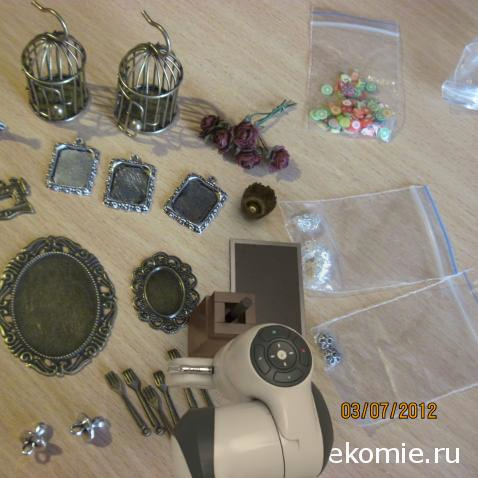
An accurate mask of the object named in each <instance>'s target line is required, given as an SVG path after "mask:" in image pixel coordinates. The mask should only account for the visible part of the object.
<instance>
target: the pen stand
mask: <svg viewBox="0 0 478 478" xmlns="http://www.w3.org/2000/svg"><path fill="white" fill-rule="evenodd" d="M245 297H249V298H250V299H251V300H252V306H251V307H249V308H248V309H247V310H246V311H245V312H243V313H242V314H241V315H240V316H239V317H238V318H236V319H235V320H234V321H233V322H232V323H227V322H226V321H225V315H226V314H227V313H229V312H230V311H231V310H232V309H233V308H234V307H235V306H236V305H237V304H238V303H239V302H240V301H241V300H242V299H243V298H245ZM254 326H256V300H255V294H254V293H237V292H230V291H219V290H218V291H217V290H214V291H213V292H212V294H211V295H209V294H207V295H205V296H204V297H203V298H202V300H201V301H200V302H199V303H198V305H197V306H196V307H195V309H194V310H193V311H192V313H191V314H190V315H189V316H188V318H187V358H209V359H214V357H215V355H216V353H217V352H218V351H219V350H220V348H222V347H223V346H224V345H225V344H227V343H228V342H230V341H231V340H233V339H234V338H236V337H237V336H238V335H240V334H241V333H243V332H244V331H246V330H248V329H250V328H252V327H254Z"/></svg>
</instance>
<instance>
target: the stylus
mask: <svg viewBox="0 0 478 478" xmlns="http://www.w3.org/2000/svg"><path fill="white" fill-rule="evenodd" d="M251 306H252V300H251V299H250V298H249V297H245V298H243V299H242V300H241V301H240V302H239V303H238V304H237V305H236V306H235V307H234V308H233V309H232V310H231V311H230V312H229V313H227V314H226V315H225V321H226V322H227V323H232V322H233V321H234V320H235V319H236V318H238V317H239V316H240V315H241V314H242V313H243V312H245V311H246V310H247V309H248V308H249V307H251Z"/></svg>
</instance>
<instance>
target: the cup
mask: <svg viewBox="0 0 478 478" xmlns="http://www.w3.org/2000/svg"><path fill="white" fill-rule="evenodd" d="M277 199H278V196H277V195H276V190H275V189H274V188H272V187H271V185H269V184H268V185H264V184H262V182H257V181H255V182H253V183H252V184H249V185H248V186H247V187H246V188H245V189H244V191H243V193H242V196H241V200H240V209H241V212H242V213H243V215H244V216H245V217H246V218H248V219H250V220H255V221H257V220H261V219H263V218H265V217H266V216H268V215H269V214H271V213H272V212H273V211H274V209H275V208H276V207H277V203H278V201H277ZM252 210H253V211H252Z"/></svg>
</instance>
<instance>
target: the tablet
mask: <svg viewBox="0 0 478 478" xmlns="http://www.w3.org/2000/svg"><path fill="white" fill-rule="evenodd" d="M229 292H237V293H254V294H255V300H256V326H257V325H260V324H265V323H276V324H281V325H285V326H287V327H290V328H292V329H293V330H295V331H296V332H298V333H299V334H300V335H301V336H302V337H303V338H304V339H305V340H306V341H307V326H306V310H305V293H304V292H305V291H304V276H303V258H302V243H301V242H300V243H299V242H286V241H285V242H284V241H272V240H271V241H269V240H254V239H240V238H230V239H229Z"/></svg>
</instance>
